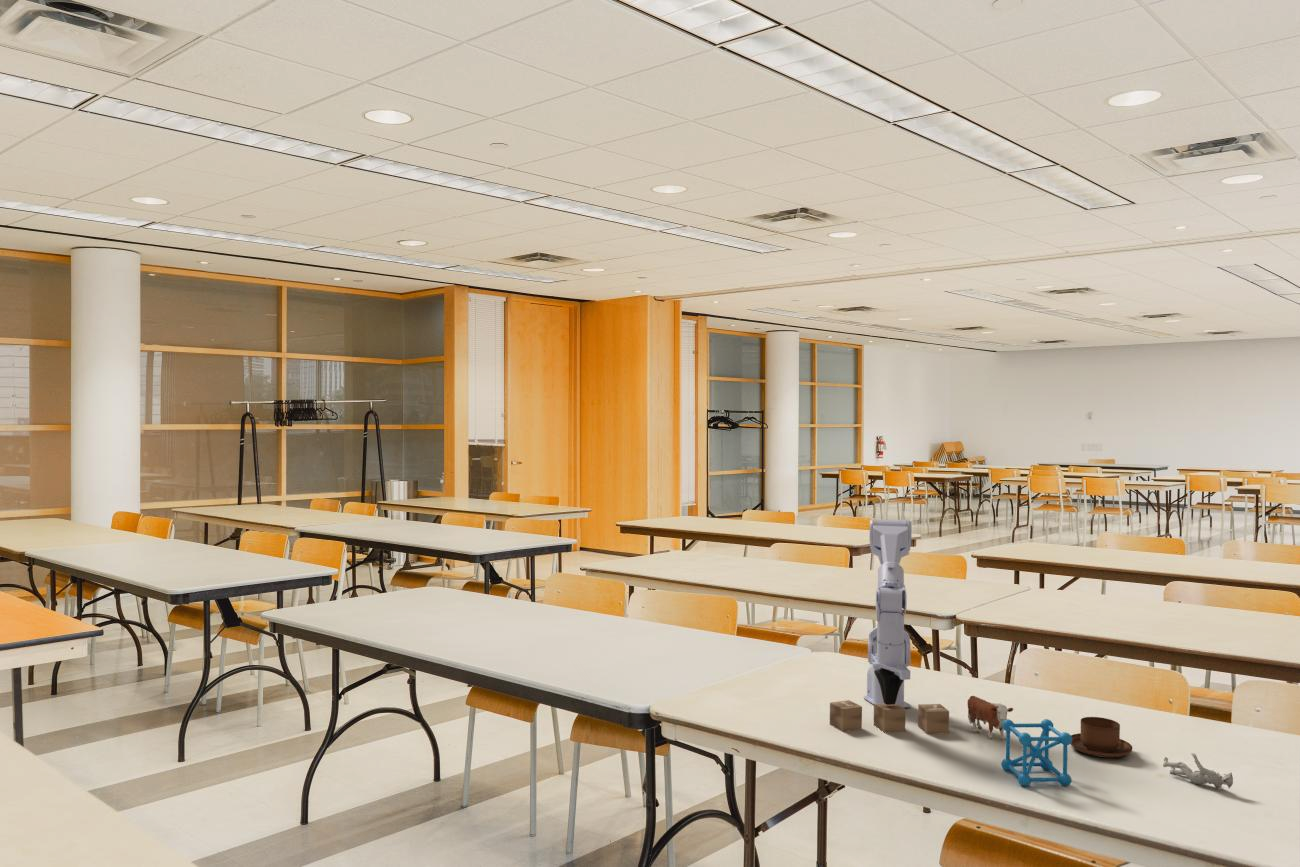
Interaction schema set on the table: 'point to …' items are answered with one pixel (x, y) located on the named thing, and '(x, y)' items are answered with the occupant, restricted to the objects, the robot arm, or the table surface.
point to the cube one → (845, 715)
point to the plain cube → (889, 717)
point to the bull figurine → (987, 715)
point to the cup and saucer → (1100, 738)
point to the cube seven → (933, 718)
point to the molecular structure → (1036, 752)
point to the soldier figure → (1199, 773)
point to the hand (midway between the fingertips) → (889, 703)
